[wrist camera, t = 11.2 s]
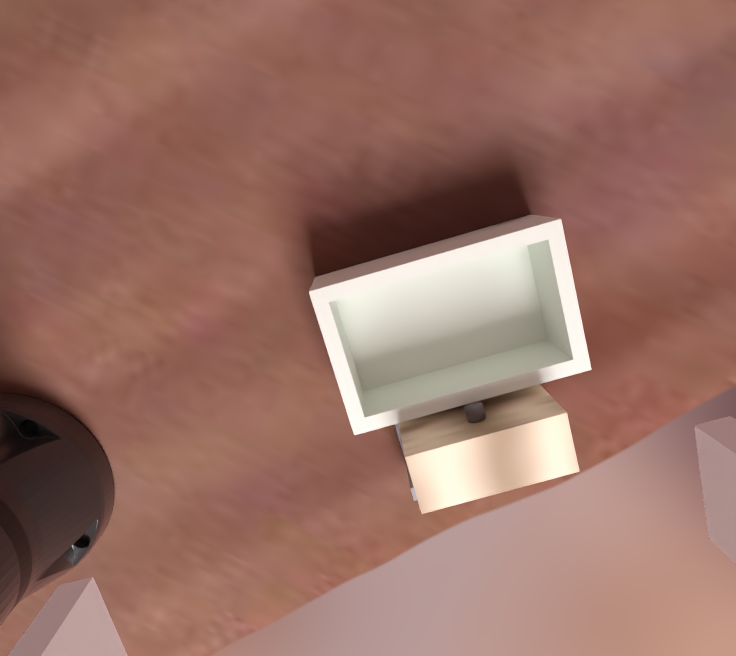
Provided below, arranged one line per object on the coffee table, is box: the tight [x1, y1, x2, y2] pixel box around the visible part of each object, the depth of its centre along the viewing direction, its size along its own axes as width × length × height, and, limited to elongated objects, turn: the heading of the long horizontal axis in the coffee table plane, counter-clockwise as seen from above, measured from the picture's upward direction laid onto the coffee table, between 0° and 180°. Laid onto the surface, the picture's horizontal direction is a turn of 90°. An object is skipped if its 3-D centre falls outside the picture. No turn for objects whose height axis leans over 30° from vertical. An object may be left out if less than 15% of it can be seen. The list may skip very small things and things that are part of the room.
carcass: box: [309, 214, 591, 501], centre depth 40 cm, size 16×16×6 cm
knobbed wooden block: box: [398, 384, 579, 514], centre depth 39 cm, size 10×5×9 cm, turn 106°
